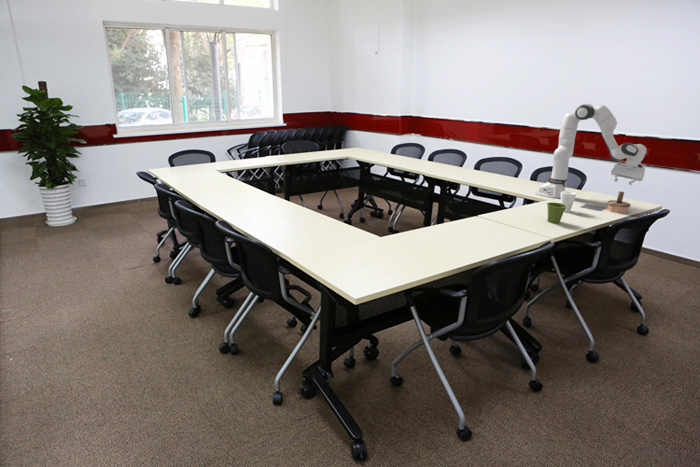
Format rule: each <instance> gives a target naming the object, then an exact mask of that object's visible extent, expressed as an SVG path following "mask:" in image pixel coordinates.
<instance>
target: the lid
mask: <svg viewBox="0 0 700 467" xmlns="http://www.w3.org/2000/svg"><path fill="white" fill-rule="evenodd" d="M624 194H625V192H624V191H618V194H617V199H616V200H612V199H608V200H607V202H606V203H607V205H608V204H609V205H612V206H617V207H629V208H630V207H631V203H630V202H627V201H623V199H624Z"/></svg>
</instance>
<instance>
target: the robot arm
mask: <svg viewBox="0 0 700 467" xmlns="http://www.w3.org/2000/svg"><path fill="white" fill-rule="evenodd" d="M588 119H593V120H594V121H595V122H596V124H597V126H598V127H599V129H600V132H601V136H602V140H604V143H605V145H606V147H607V149H608V151H609V156H610V158H611V160H612V161H615V162H618V163H615V164H614V166H613V168H612V169H611V171H610V174H611V175H612V176H614V182H618V178H619V177H620V178H624V179H629V180H631V181H629V183H628V185H630V186H632V184H633V183H635V182H636V181H638V182H642V181H643V179H644V177H645V172H646V168H645V165H643V164H641V162H642V161H643V159H644V158H645V156H646V154H647V147H646V146H645V145H644V144H642V143H638V144H635V143H634V144H633V143H631V142H624V143H622V144H621V145H618V143H617V141H616V139H615V137H614V131H615V129H616V128H617V125H618V122H617V119H616V116H614V114H613V112H612V111H611V110H610V108H608V107H607V106H606V105H604V104H600V105H597V106H595V107H594V106H593V105H592V104H590V103H589V104H588V103H583V104H581V105H579V106H577V108H576V109H575V111H574V112H568V113H566V114H565V115H564V117H563V119H562V123H561V125H560V126H561V127H560V130H559V135H558V146H557V148H556V149H555V150H554V152H553V157H552V158H553V159H552V160H553V161H552V172H551V176H550V177H549V178H548V179H547V182H545V183H543V184H541V185H540V186H539V188H538V189H537V190H536V191H535V192H534V194H535V195H539V196H543V197H546V198H551V199H561V192H562V191H566V187H567V183H568V174H569V164H570V163H569V160H570V159H572V156H573V154H574V148H575V147H574V146H575V139H576V134H577V130H578V126H579V123H580V121H587V120H588ZM624 159H626V161H625V163H619V162H621V161H623V160H624Z"/></svg>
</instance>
